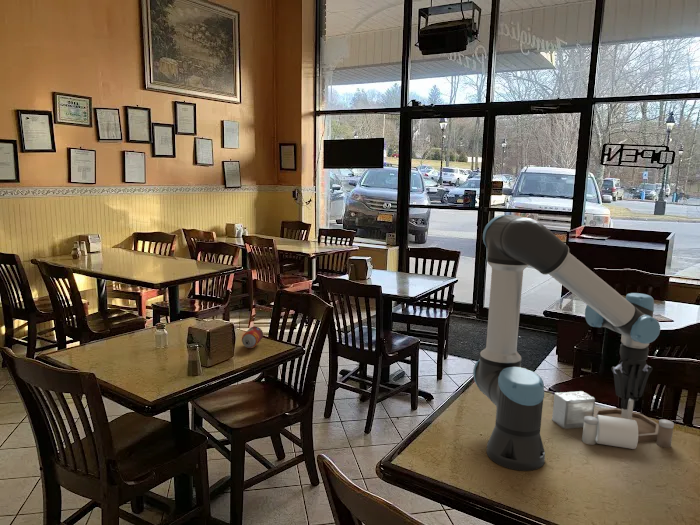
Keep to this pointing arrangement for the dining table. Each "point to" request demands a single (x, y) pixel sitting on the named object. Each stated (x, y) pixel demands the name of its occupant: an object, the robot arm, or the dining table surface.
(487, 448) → the robot arm
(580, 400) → the white box
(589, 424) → the salt shaker
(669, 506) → the dining table surface
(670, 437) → the pepper shaker
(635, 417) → the tray
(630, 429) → the white cylinder
